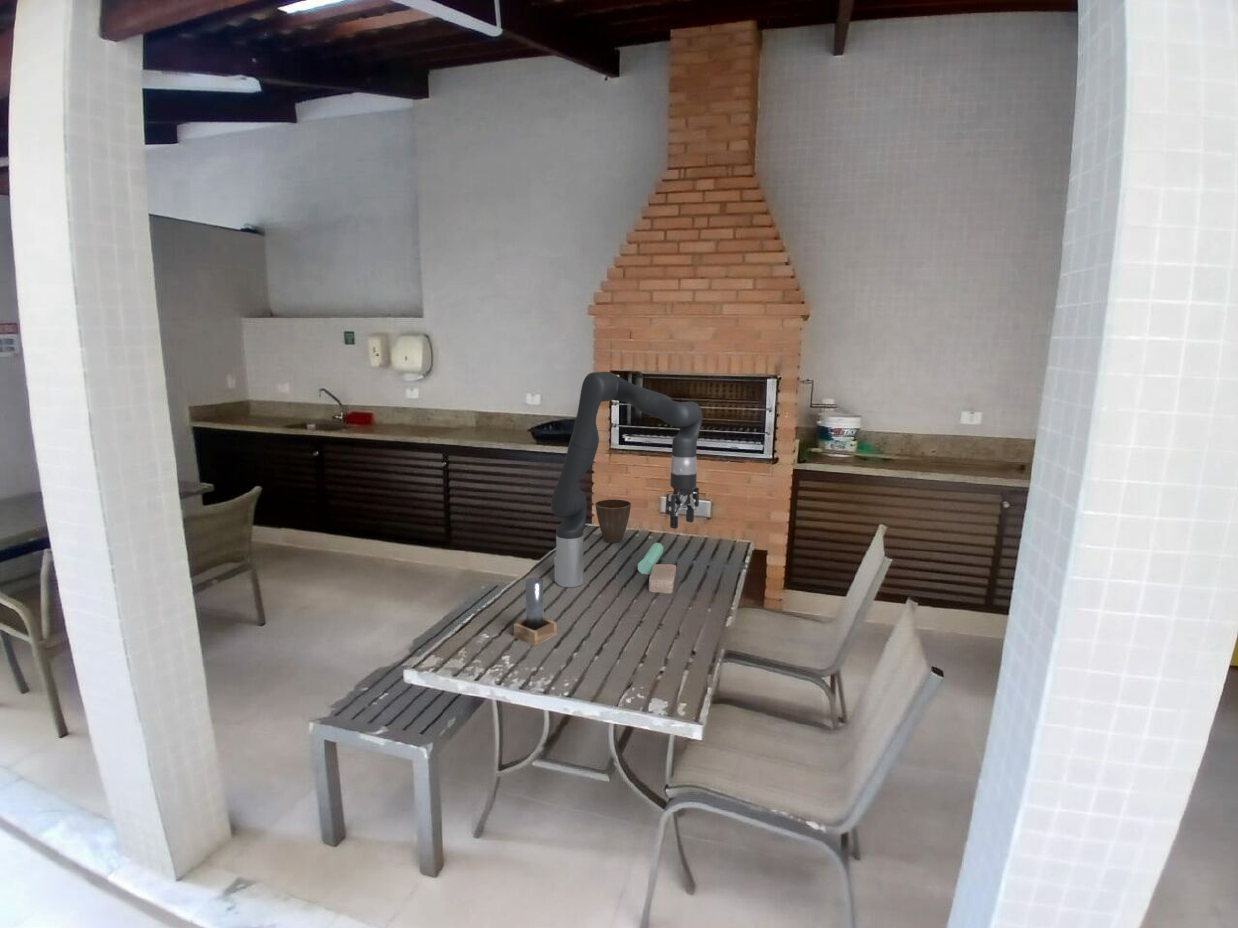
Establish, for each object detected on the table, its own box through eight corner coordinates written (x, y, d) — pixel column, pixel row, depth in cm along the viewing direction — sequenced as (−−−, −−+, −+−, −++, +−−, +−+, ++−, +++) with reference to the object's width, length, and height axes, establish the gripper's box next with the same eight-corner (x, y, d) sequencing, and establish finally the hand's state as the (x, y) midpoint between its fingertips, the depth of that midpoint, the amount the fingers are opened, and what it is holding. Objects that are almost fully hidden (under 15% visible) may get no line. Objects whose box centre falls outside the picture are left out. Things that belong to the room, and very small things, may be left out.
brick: (672, 594, 210) (673, 580, 209) (647, 592, 211) (648, 579, 210) (676, 576, 226) (676, 564, 225) (652, 575, 227) (653, 562, 226)
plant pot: (591, 544, 260) (591, 507, 257) (599, 534, 275) (599, 498, 272) (627, 546, 258) (628, 508, 255) (632, 536, 272) (633, 500, 269)
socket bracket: (512, 639, 176) (512, 624, 175) (535, 628, 183) (535, 613, 182) (534, 649, 171) (534, 633, 170) (558, 637, 178) (557, 622, 177)
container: (654, 537, 250) (641, 556, 227) (668, 544, 250) (655, 564, 226) (648, 550, 252) (634, 570, 228) (662, 557, 251) (649, 578, 227)
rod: (523, 635, 176) (521, 581, 173) (535, 629, 180) (534, 576, 177) (535, 640, 174) (534, 585, 171) (547, 634, 177) (546, 580, 174)
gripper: (685, 465, 190) (684, 517, 193) (658, 473, 179) (657, 527, 182) (707, 469, 186) (705, 522, 189) (681, 476, 175) (679, 532, 178)
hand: (681, 525), depth 185 cm, fingers open, 8 cm apart
